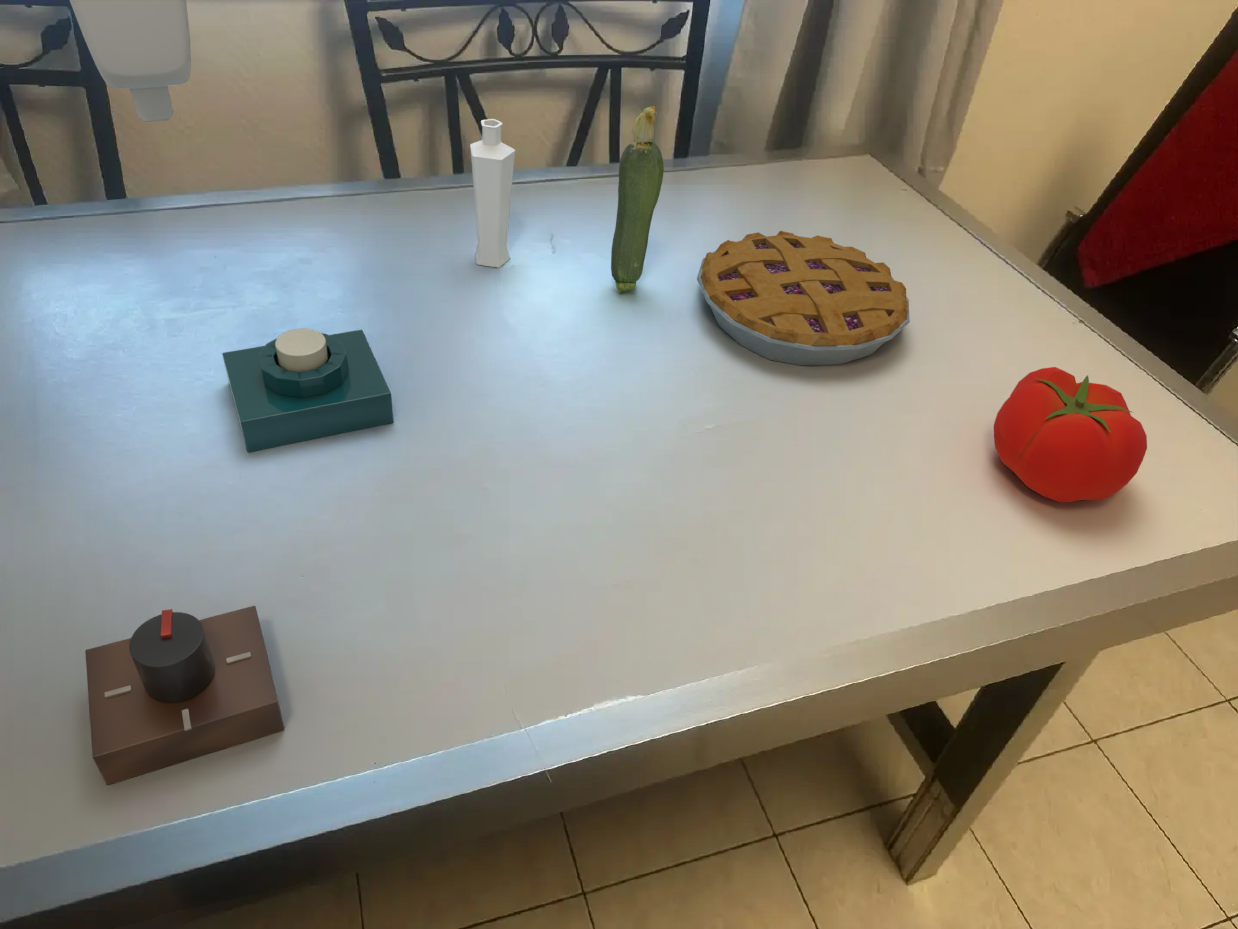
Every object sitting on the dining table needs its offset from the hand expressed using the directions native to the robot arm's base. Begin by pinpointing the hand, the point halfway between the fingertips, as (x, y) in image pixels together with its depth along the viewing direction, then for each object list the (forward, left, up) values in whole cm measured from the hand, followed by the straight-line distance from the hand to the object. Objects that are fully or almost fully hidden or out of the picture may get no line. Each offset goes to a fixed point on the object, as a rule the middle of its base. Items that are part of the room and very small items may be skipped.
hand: (154, 111), depth 51 cm
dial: (-6, -15, -28) cm, 32 cm away
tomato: (+65, -17, -31) cm, 74 cm away
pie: (+57, +12, -31) cm, 66 cm away
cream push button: (+7, +13, -27) cm, 30 cm away
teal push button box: (+7, +13, -31) cm, 34 cm away
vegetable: (+42, +22, -31) cm, 57 cm away
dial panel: (-6, -15, -31) cm, 35 cm away
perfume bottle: (+30, +32, -31) cm, 54 cm away
